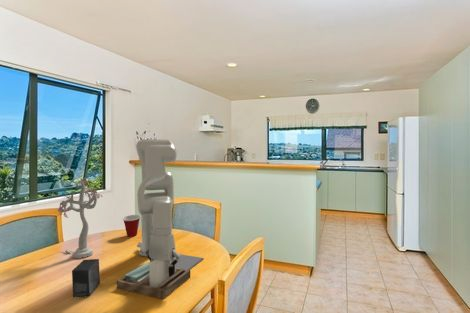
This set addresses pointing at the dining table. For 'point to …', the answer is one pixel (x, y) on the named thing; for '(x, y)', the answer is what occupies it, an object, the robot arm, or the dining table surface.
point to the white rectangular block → (159, 272)
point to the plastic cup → (131, 224)
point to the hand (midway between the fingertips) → (163, 273)
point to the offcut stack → (139, 274)
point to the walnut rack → (162, 289)
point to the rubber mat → (187, 261)
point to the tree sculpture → (83, 249)
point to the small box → (85, 278)
